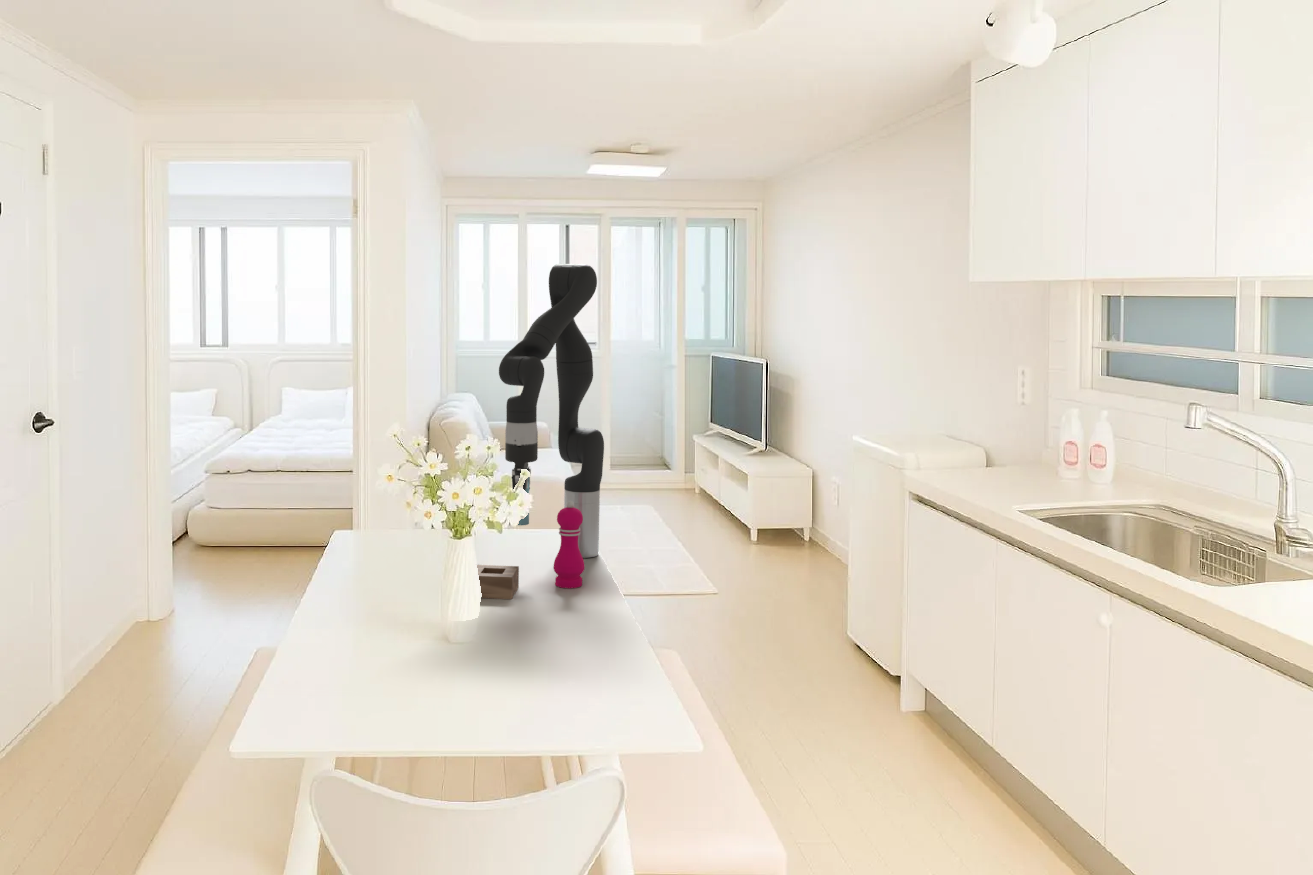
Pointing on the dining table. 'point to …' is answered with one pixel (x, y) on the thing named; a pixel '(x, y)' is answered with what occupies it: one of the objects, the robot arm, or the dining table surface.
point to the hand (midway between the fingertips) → (521, 512)
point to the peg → (526, 519)
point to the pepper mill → (569, 548)
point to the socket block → (498, 581)
